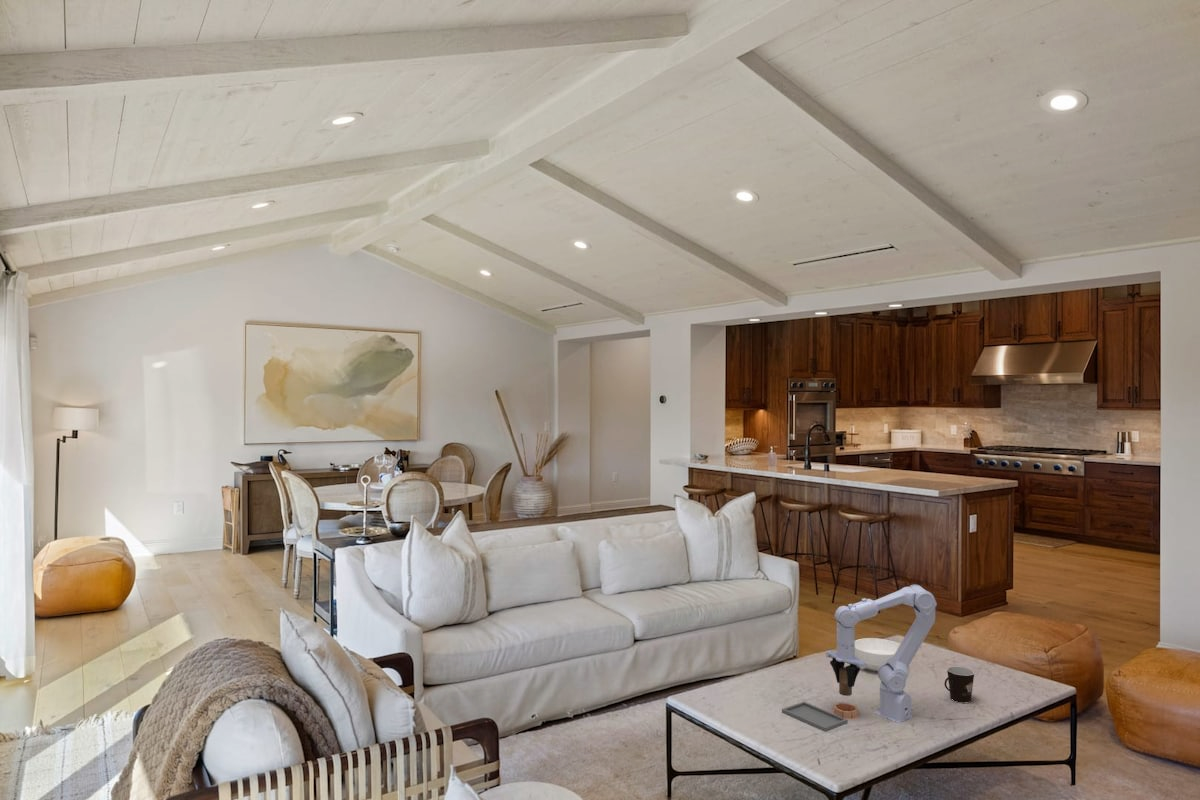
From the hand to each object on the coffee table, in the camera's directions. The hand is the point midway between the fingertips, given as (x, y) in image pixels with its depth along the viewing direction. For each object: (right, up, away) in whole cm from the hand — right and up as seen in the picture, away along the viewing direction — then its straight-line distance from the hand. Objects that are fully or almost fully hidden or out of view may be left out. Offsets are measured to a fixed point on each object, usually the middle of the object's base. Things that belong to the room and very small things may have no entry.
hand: (845, 684), depth 259 cm
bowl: (+27, -10, +44) cm, 53 cm away
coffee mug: (+43, -10, +13) cm, 46 cm away
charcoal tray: (-11, -10, -3) cm, 15 cm away
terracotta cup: (0, -10, 0) cm, 10 cm away
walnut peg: (0, -3, 0) cm, 3 cm away
